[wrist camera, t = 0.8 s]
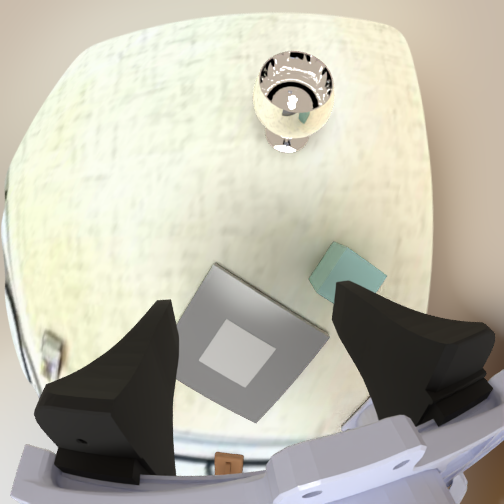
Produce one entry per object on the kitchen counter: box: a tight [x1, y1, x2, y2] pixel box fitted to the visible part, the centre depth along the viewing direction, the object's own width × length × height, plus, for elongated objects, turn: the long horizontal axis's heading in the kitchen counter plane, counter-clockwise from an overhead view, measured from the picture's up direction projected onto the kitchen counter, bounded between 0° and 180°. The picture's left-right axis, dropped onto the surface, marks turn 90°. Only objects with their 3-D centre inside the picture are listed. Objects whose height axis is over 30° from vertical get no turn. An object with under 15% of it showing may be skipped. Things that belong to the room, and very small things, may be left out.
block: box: [309, 242, 387, 304], centre depth 26 cm, size 4×4×6 cm
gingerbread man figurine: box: [215, 452, 244, 475], centre depth 27 cm, size 9×4×12 cm, turn 176°
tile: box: [176, 263, 330, 423], centre depth 30 cm, size 14×14×1 cm
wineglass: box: [253, 51, 335, 153], centre depth 21 cm, size 6×6×12 cm
